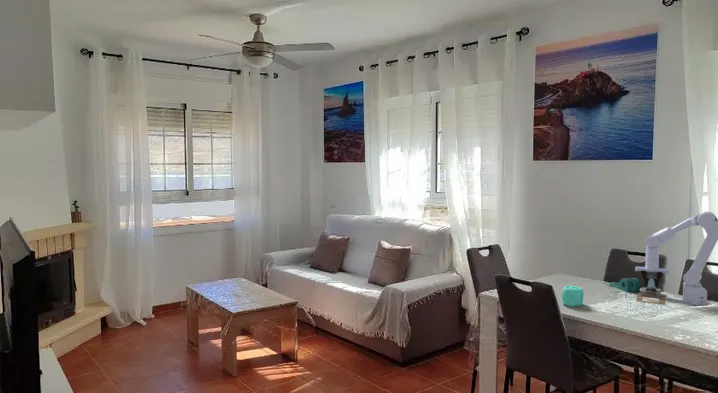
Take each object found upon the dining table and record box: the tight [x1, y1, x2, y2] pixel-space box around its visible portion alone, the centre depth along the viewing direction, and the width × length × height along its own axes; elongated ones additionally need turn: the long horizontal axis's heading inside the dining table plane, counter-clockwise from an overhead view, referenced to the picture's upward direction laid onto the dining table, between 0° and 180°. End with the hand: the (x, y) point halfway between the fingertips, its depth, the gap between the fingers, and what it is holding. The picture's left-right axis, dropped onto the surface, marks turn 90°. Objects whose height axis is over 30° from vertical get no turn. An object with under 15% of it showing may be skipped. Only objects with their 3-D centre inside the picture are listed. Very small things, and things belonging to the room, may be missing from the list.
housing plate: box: [635, 286, 666, 306], centre depth 249 cm, size 22×12×4 cm, turn 150°
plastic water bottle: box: [646, 274, 657, 292], centre depth 254 cm, size 4×4×9 cm
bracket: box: [609, 277, 641, 293], centre depth 269 cm, size 18×7×8 cm, turn 5°
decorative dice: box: [561, 285, 584, 308], centre depth 242 cm, size 8×8×8 cm
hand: (651, 286), depth 254 cm, fingers closed on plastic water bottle, 4 cm apart
